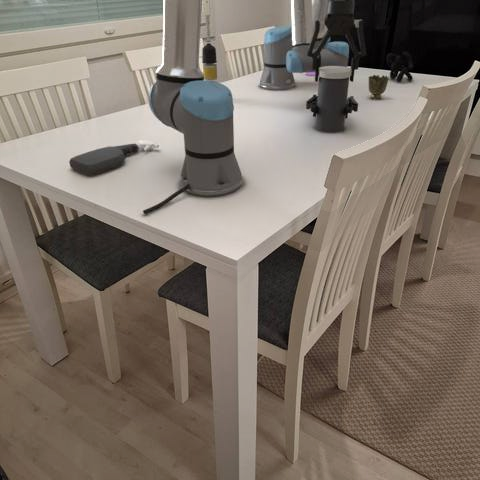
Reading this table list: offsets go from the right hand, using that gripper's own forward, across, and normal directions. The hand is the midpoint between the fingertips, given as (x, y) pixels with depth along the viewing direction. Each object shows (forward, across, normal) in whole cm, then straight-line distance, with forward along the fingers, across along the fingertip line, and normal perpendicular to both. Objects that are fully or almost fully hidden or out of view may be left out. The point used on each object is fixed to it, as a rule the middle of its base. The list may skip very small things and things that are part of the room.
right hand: (330, 113), depth 138 cm
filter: (-34, +48, -6) cm, 59 cm away
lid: (-4, 0, +12) cm, 13 cm away
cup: (-45, -16, -6) cm, 48 cm away
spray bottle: (+33, +57, -6) cm, 66 cm away
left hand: (-4, 0, +9) cm, 10 cm away
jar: (-4, 0, -6) cm, 8 cm away
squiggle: (-78, -28, -6) cm, 83 cm away
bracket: (-88, +10, -6) cm, 89 cm away
